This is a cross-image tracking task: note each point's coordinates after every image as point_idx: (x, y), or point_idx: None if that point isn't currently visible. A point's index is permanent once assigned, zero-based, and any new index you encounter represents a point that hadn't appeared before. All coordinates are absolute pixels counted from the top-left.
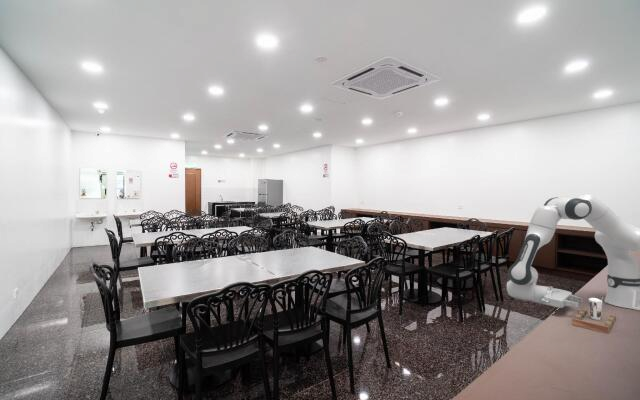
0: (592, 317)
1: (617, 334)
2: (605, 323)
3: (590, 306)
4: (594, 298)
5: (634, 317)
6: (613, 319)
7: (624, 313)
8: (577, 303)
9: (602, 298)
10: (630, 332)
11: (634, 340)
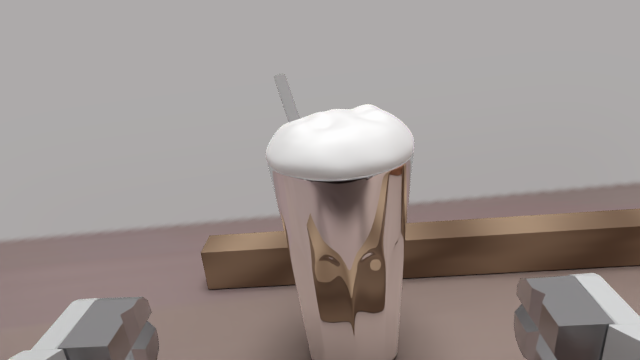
0: (393, 348)
1: None
2: (588, 228)
3: (389, 242)
4: (349, 115)
5: (96, 232)
6: None
7: (5, 266)
8: (590, 279)
9: (288, 98)
10: (482, 204)
11: (617, 184)
